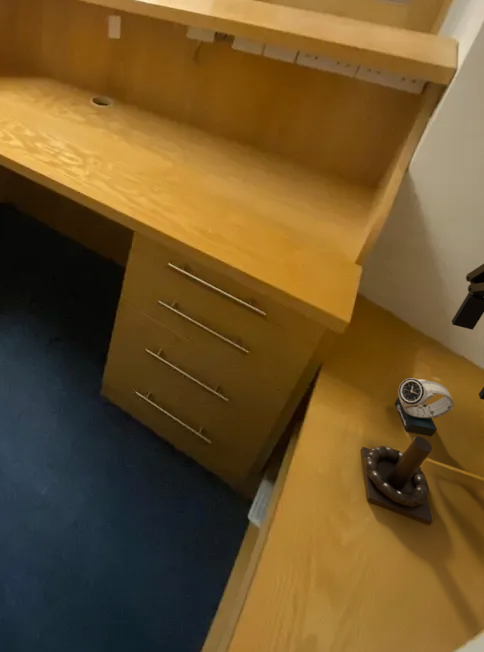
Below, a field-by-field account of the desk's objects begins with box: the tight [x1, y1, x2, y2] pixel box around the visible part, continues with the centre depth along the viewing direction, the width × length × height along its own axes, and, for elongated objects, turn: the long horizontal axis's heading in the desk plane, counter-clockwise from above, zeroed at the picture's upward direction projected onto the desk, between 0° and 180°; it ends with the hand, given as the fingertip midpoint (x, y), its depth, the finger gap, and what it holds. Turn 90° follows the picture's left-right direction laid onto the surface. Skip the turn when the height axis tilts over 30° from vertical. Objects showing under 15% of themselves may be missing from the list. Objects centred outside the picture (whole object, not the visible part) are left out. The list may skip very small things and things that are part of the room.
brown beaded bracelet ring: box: [365, 445, 431, 507], centre depth 87 cm, size 9×9×2 cm
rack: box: [360, 435, 433, 526], centre depth 84 cm, size 9×9×13 cm
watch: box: [394, 377, 455, 437], centre depth 94 cm, size 6×8×11 cm
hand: (475, 360), depth 77 cm, fingers open, 13 cm apart
